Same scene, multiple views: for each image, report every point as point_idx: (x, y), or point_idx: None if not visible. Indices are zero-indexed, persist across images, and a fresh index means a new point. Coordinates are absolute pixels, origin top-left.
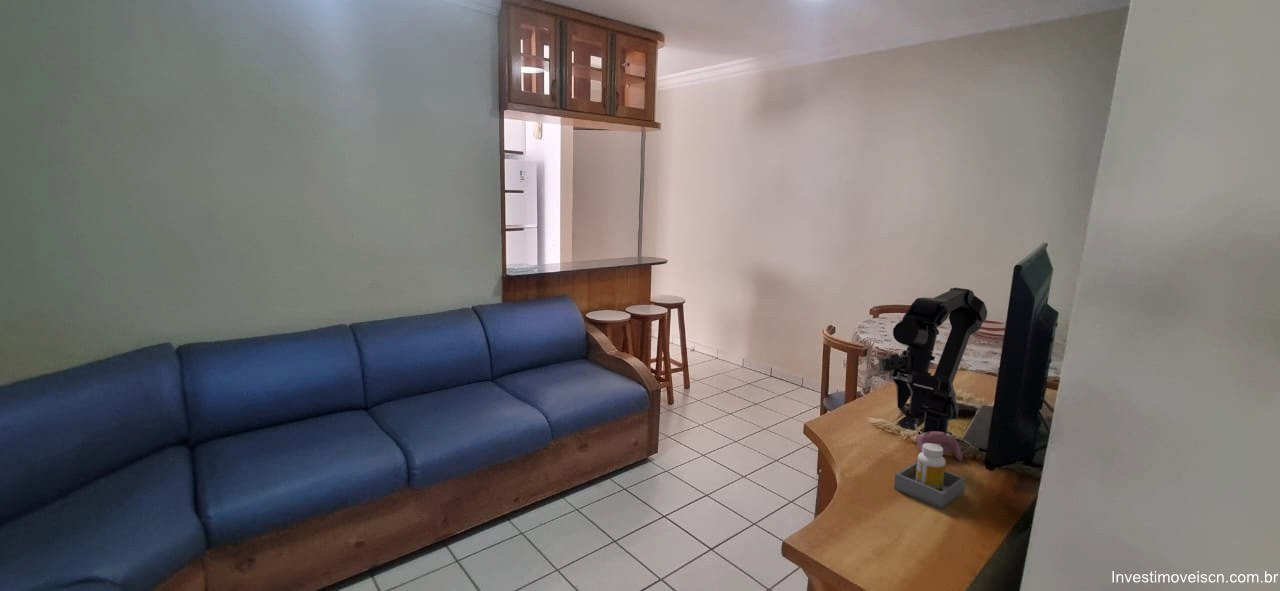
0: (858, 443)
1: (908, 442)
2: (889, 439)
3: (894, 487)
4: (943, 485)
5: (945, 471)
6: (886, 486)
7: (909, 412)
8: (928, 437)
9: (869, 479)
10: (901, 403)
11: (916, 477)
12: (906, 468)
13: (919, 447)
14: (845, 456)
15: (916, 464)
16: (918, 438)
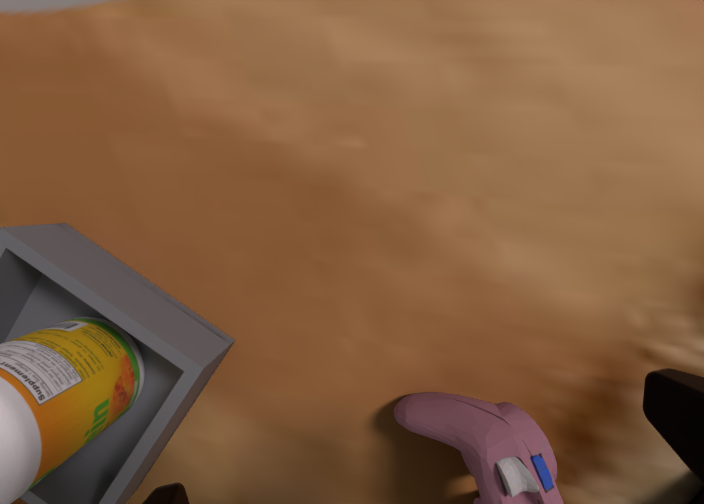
0: (506, 79)
1: (603, 361)
2: (617, 262)
3: (61, 225)
4: (141, 431)
5: (124, 476)
6: (70, 193)
7: (166, 489)
8: (485, 490)
9: (104, 121)
10: (702, 439)
11: (47, 328)
12: (80, 292)
13: (443, 406)
14: (308, 3)
15: (160, 351)
16: (496, 425)
